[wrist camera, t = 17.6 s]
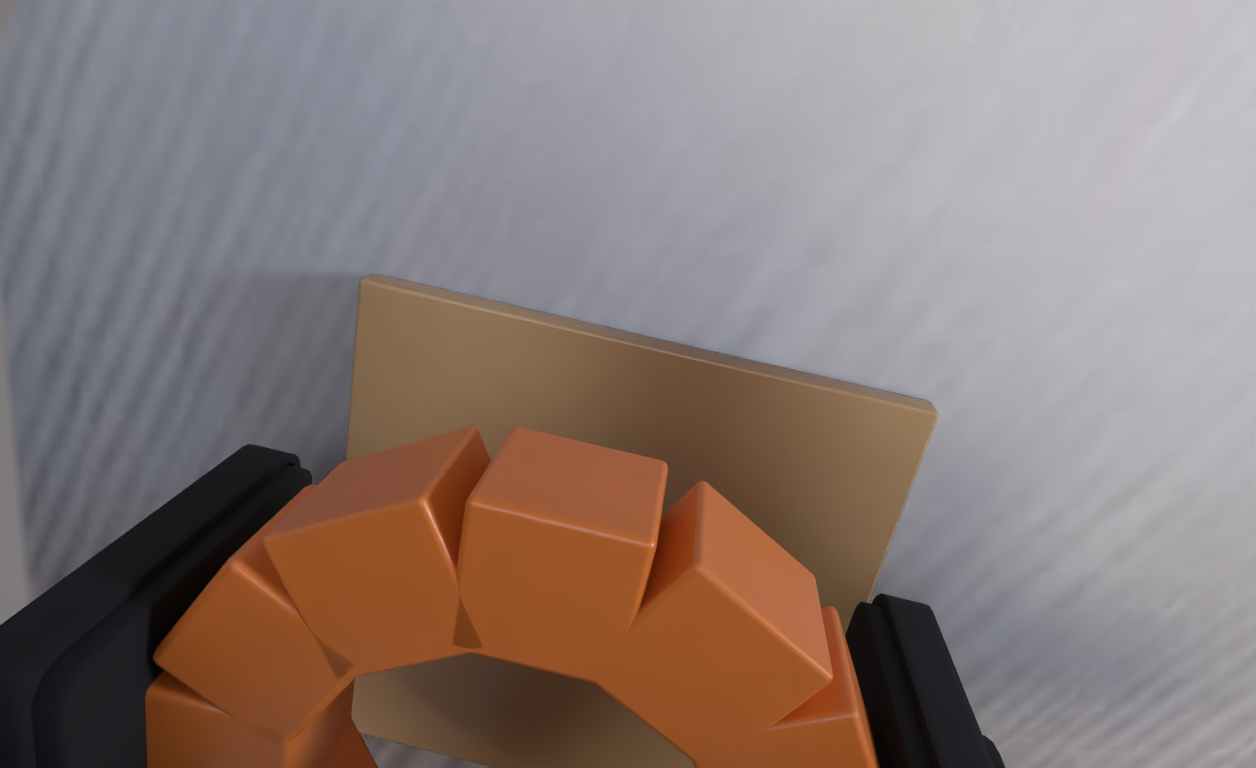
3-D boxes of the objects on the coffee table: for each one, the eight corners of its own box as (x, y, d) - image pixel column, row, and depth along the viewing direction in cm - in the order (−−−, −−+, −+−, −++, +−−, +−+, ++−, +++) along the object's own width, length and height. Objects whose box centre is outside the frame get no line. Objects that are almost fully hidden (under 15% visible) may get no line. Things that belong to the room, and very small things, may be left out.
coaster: (335, 705, 12) (323, 725, 12) (372, 271, 10) (358, 278, 9) (777, 818, 12) (779, 842, 12) (932, 400, 9) (940, 412, 9)
